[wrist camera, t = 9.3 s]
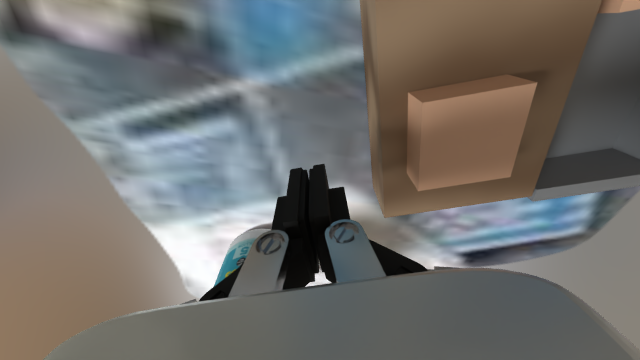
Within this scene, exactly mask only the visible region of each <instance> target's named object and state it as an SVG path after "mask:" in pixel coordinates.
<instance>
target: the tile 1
mask: <svg viewBox="0 0 640 360" xmlns="http://www.w3.org/2000/svg"><path fill="white" fill-rule="evenodd" d="M536 86H537V82H534V81H530V80H526V79H523V78H519V77H515V76H512V75H508V74H507V75H501V76H496V77H490V78H485V79H479V80H474V81H468V82H463V83H457V84H452V85H446V86H440V87H435V88H429V89H424V90H418V91H413V92H408V131H407V174H408V176H409V177H410V179H411V181H412V182H413V184H414V185H415V187H416V189H417V190H418V191H423V190H429V189H436V188H442V187H449V186H455V185H462V184H468V183H475V182H481V181H488V180H494V179H501V178H508V177H511V173H512V170H513V166H514V163H515V159H516V156H517V152H518V149H519V145H520V142H521V138H522V135H523V131H524V128H525V124H526V121H527V117H528V114H529V110H530V107H531V103H532V100H533V96H534V93H535V89H536Z"/></svg>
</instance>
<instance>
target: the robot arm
mask: <svg viewBox="0 0 640 360" xmlns="http://www.w3.org/2000/svg"><path fill="white" fill-rule="evenodd" d="M319 261H320V265H321V269H322V272H325V276H326V279H328V280H329V281H330V282H332V283H331V284H323V285H316V286H308V287H305V286H306V285H307V284H308V283H309V282H315V273H319ZM43 360H640V350H639V349H638V348H637V347H636V346H635V345H634V344H633V343H631V342H630V341H629V340H628V339H627V338H626V337H625V336H624V335H623V334H622V333H620V332H619V331H618V330H617V329H616V328H615V327H614V326H613V325H612V324H611V323H609V322H608V321H607V320H606V319H605V318H604V317H602V316H601V315H600V314H599V313H598V312H596V311H595V310H594V309H593V308H592V307H591V306H589V305H588V304H587V303H585V302H584V301H583V300H582V299H580V298H579V297H577V296H576V295H575V294H573V293H572V292H570V291H569V290H567V289H565V288H563V287H562V286H560V285H558V284H556V283H553V282H551V281H549V280H546V279H543V278H539V277H537V276H533V275H529V274H525V273H520V272H514V271H508V270H503V269H491V268H452V267H435V266H434V270H431V269H426V268H425V267H424V266H422V265H421V264H419V263H417V262H415V261H413V260H411V259H409V258H407V257H405V256H403V255H401V254H398V253H396V252H394V251H392V250H390V249H388V248H386V247H384V246H382V245H380V244H378V243H376V242H374V241H371V240H369V239H368V238H367V236H366V234H365V232H364V230H363V228H362V226H361V225H360V224H359V223H357V222H356V221H353V220H350V215H349V210H348V206H347V201H346V196H345V191H344V187H339V188H332V189H329V186H328V180H327V175H326V170H325V165H324V164H320V165H314V166H313V169H310V171H309V178H308V173H307V170H303V169H302V168H296V169H291V170H290V176H289V183H288V189H287V196H283V197H278V199H277V204H276V209H275V214H274V219H273V224H272V229H271V231H268V232H265V233H263V234H261V235H260V236H259V237H258V238H256V239H255V241H254V242H253V244H252V246H251V248H250V251H249V253H248V255H247V257H246V259H245V261H244V264H242V265H241V266H240V267H238V268H237V269H236V270H235V271H233V272H232V273H231V274H230V275H228V276H227V277H226V278H224V279H223V280H222V281H221V282H219V283H218V284H217V285H216V286H214V287H213V288H212V289H210V290H209V291H208V292H207V293H206V294H205V295H204V296H202V297H201V299H200V300H199V302H197V301H196V299H194V300H191V301H188V302H185V303H182V304H180V305H175V306H167V307H162V308H156V309H151V310H146V311H140V312H135V313H131V314H127V315H123V316H120V317H117V318H114V319H111V320H108V321H105V322H102V323H100V324H98V325H96V326H93V327H91V328H89V329H87V330H85V331H82V332H81V333H79V334H77V335H75V336H73V337H71V338H70V339H68V340H67V341H65V342H63V343H62V344H60V345H59V346H58V347H57V348H55V349H54V350H53V351H52V352H51V353H50V354H49V355H48V356H46V357H45V358H44V359H43Z"/></svg>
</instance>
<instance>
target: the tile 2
mask: <svg viewBox="0 0 640 360" xmlns="http://www.w3.org/2000/svg"><path fill="white" fill-rule="evenodd" d="M637 9H640V0H602V2H601V5H600V7H599V10H598V13H620V12H626V11H631V10H637Z"/></svg>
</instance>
